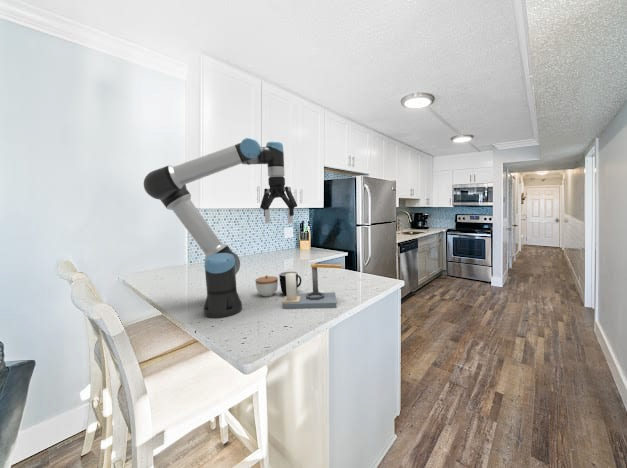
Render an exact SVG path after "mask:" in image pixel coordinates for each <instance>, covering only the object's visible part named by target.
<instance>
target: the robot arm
mask: <svg viewBox="0 0 627 468" xmlns="http://www.w3.org/2000/svg"><path fill="white" fill-rule="evenodd" d="M284 155H285V153H284V145H283V143H282V142H281V141H278V140H277V141H276V140H273V141H267V142H266V145H265V146H261V145H260V143H259V142H258V140H256V139H255V138H253V137H244V138H243V140H241V142H240V143H236V144H233V145H231V146H229V147H225V148H223V149H220V150H217V151H215V152H212V153H208V154H206V155H202V156H200V157H197V158H194V159H192V160H189V161H185V162H183V163H181V164H178V165H174V166H173V165H166V166H164V167H160V168H158V169H155V170H152V171H150V172H149V173H148V174H147V175H146V176H145V178H144V179H143V188H144V191H145V192H146V193H147V194H148V196H150V197H151V198H153V199H155V200H160V201H161V203H162V204H163V205H164V207H165V208H166V210H170V211H173V213H174V214H175V216H176V217H177V218H178V219H179V220H180V223H182V225H183V226H184V228H185V229H186V230H187V231H188V233H189V234H190V235H191V237H192V238H193V239H194V241H195V242H196V244H197V245H198V246H199V247H200V250H201V251H202V252H203V253H204V254H205V258H204V266H203V267H204V270H205V271H204V273H205V284H206V299H205V301H204V306H203V315H204V316H205V317H207V318H211V319H212V318H214V319H216V318H218V319H219V318H226V317H230V316H234V315H236V314H238V313H240V312H241V311H242V310H243V304H242V300H241V298H240V295H239V293H238V291H237V290H238V289H237V277H236V275H237V274H238V272H239V270H240V267H241V259H240V257H239V256H238V255H237V253H235V252H234V251H232V249H231V248H230V246H229V245H228V244H226V243H223V242H221V240H220V239H219V237H218V236H217V234H216V233H215V232H214V231H213V229H212V228H211V226H210V225H209V223H207V221H206V219H205V218H204V217H203V215H202V214H201V212H200V211H199V210H198V208H197V207H196V206H195V204H194V203H193V201H192V197H191V196H192V194H191V193H190V192H189V190H188V189H187V184H190V183H192V182H195V181H197V180H201V179H203V178H205V177H208V176H211V175H214V174H216V173H220V172H223V171H225V170H227V169H230V168H233V167H236V166H239V165H240V164H241V165H248V166H250V165H267V176H268V179H267V180H268V186H269V188H264V189H263V190H264V192H263V196H262V199H261V203H260V206H259V208H260V209H261V210H263V215H264V219H265V223H264V224H265V225H266V224H271V209H270V206H271V205H272V203H273V201H274V199H276V198H280V199H282V201H283V202H284V203H285V205H286V206H287V210H286V211H287V223H288V224H293V223H294V219H293V218H294V217H293V216H295V215H294V214H295V212H294V209H295V208H297V207H298V203H297V202H296V199H295V197H294V195H293V193H292V189H291V187H290V186H286V178H285V156H284Z"/></svg>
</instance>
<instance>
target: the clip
mask: <svg viewBox="0 0 627 468" xmlns="http://www.w3.org/2000/svg"><path fill="white" fill-rule="evenodd" d="M310 267H311V269H312V268H316V267H317V268H320V269H321V268H322V269H323V268H324V269H325V268H326V269H342V268H343V266H342V264H329V263H311V264H310Z"/></svg>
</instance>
